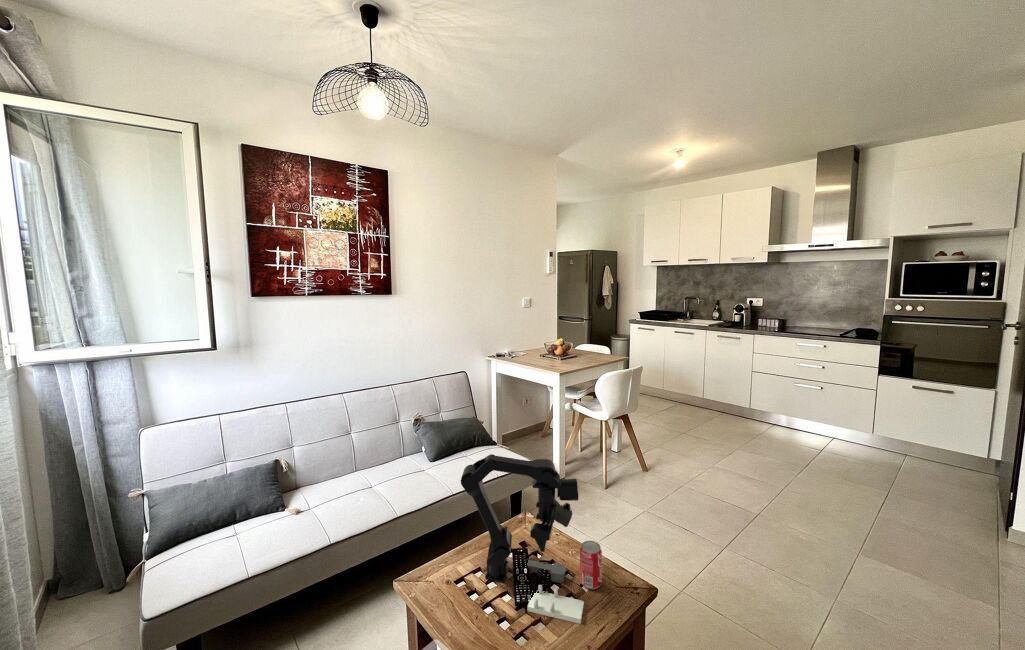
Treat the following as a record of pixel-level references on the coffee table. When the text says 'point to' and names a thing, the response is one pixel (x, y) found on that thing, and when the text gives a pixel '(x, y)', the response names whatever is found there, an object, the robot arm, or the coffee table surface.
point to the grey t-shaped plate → (555, 570)
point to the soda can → (591, 565)
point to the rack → (556, 606)
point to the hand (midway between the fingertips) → (545, 542)
